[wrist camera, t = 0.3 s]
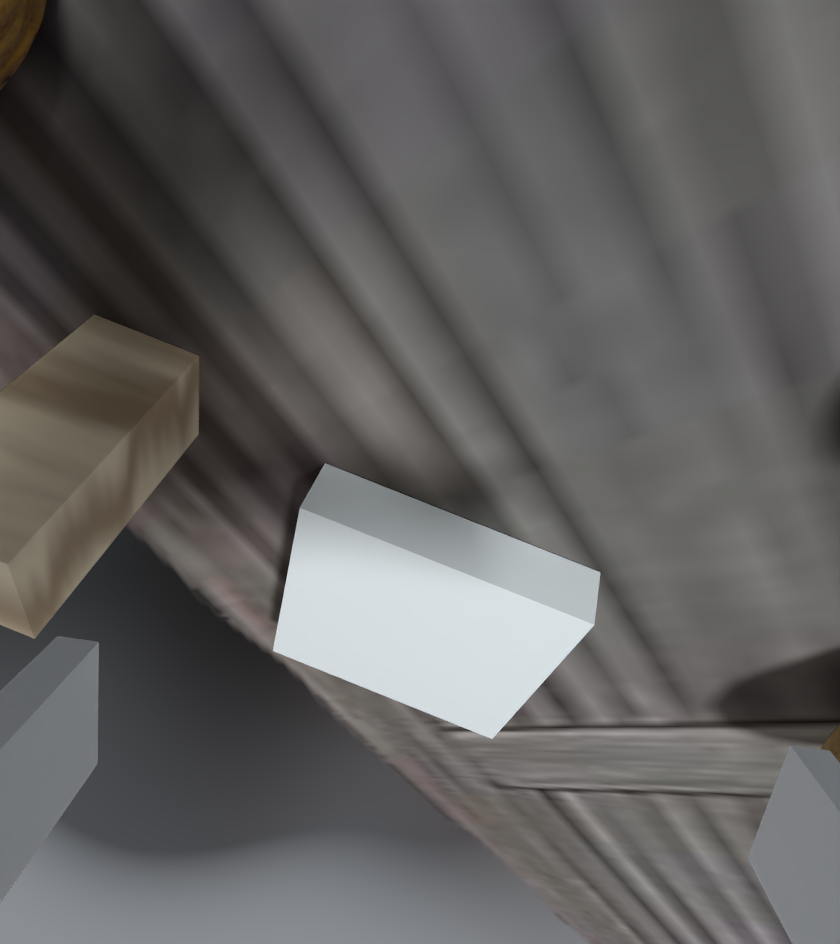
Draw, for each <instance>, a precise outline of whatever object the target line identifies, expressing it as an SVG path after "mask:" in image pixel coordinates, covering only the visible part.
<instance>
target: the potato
mask: <svg viewBox="0 0 840 944" xmlns="http://www.w3.org/2000/svg"><path fill="white" fill-rule="evenodd" d="M821 749H822V750H829V751H831V753H832V754H833V755H834V756H835V758H836V759H837V760H838V761H839V763H840V725H839V726H838V727H837V728H836V729H835V730H834V731H833V732H832V733H831V734H830V736H829V737H828V739H827V740H826V742H825V744H824V745H823V747H822V748H821Z"/></svg>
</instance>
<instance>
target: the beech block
mask: <svg viewBox="0 0 840 944" xmlns="http://www.w3.org/2000/svg"><path fill="white" fill-rule="evenodd" d="M198 435H199V355H196V354H193V353H191V352H188V351H186V350H183V349H181V348H178V347H176V346H173V345H171V344H168V343H166V342H163V341H160V340H158V339H155V338H153V337H150V336H148V335H145V334H143V333H140V332H138V331H135V330H133V329H130V328H128V327H125V326H122V325H120V324H117V323H115V322H112V321H110V320H107V319H105V318H102V317H100V316H97V315H95V314H94V315H93V316H92V317H91V318H89V319H88V320H87V321H86V322H84V323H83V324H82V325H81V326H80V327H78V328H77V329H76V330H75V331H74V332H72V333H71V334H70V335H69V336H67V337H66V338H65V339H64V340H63V341H61V342H60V343H59V344H58V345H57V346H55V347H54V348H53V349H52V350H50V351H49V352H48V353H47V354H46V355H44V356H43V357H42V358H41V359H40V360H38V361H37V362H36V363H35V364H33V365H32V366H31V367H30V368H29V369H27V370H26V371H25V372H24V373H23V374H21V375H20V376H19V377H18V378H16V379H15V380H14V381H13V382H12V383H10V384H9V385H8V386H7V387H6V388H4V389H3V390H2V391H1V392H0V625H2V626H5V627H7V628H10V629H12V630H15V631H17V632H20V633H22V634H25V635H27V636H29V637H32V638H34V639H35V637H36V636H37V635H38V634H39V633H40V631H41V630H42V629H43V628H44V626H45V625H46V624H47V623H48V621H49V620H50V619H51V618H52V616H53V615H54V614H55V613H56V611H57V610H58V609H59V608H60V606H61V605H62V604H63V603H64V601H65V600H66V599H67V598H68V596H69V595H70V594H71V593H72V591H73V590H74V589H75V588H76V587H77V585H78V584H79V583H80V581H81V580H82V579H83V578H84V577H85V575H86V574H87V573H88V572H89V570H90V569H91V568H92V567H93V565H94V564H95V563H96V562H97V560H98V559H99V558H100V557H101V555H102V554H103V553H104V552H105V550H106V549H107V548H108V547H109V545H110V544H111V543H112V542H113V540H114V539H115V538H116V537H117V535H118V534H119V533H120V532H121V530H122V529H123V528H124V527H125V525H126V524H127V523H128V522H129V520H130V519H131V518H132V517H133V516H134V514H135V513H136V512H137V511H138V509H139V508H140V507H141V506H142V504H143V503H144V502H145V501H146V499H147V498H148V497H149V496H150V494H151V493H152V492H153V491H154V489H155V488H156V487H157V486H158V484H159V483H160V482H161V481H162V479H163V478H164V477H165V476H166V474H167V473H168V472H169V471H170V469H171V468H172V467H173V466H174V464H175V463H176V462H177V461H178V459H179V458H180V457H181V456H182V454H183V453H184V452H185V451H186V449H187V448H188V447H189V446H190V444H191V443H192V442H193V441H194V439H195V438H196V437H197V436H198Z"/></svg>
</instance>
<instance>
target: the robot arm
mask: <svg viewBox="0 0 840 944" xmlns="http://www.w3.org/2000/svg"><path fill="white" fill-rule="evenodd" d="M98 657H99V642H94V641H86V640H80V639H73V638H66V637H60V636H58V637H56V638H55V639H54V640H53V641H52V642H51V643H50V644H49V645H48V646H47V647H46V648H45V649H44V650H43V651H42V652H41V653H40V654H39V655H38V656H37V657H35V658H34V659H33V661H31V662H30V663H29V664H28V665H27V666H26V667H25V668H24V669H23V670H22V671H21V672H20V673H19V674H18V675H17V676H16V677H15V678H14V679H12V680H11V682H9V683H8V684H7V685H6V686H5V687H4V688H3V689H2V690H1V691H0V903H1V902H2V900H3V899H4V897H5V896H6V894H7V893H8V892H9V890H10V889H11V887H12V886H13V884H14V883H15V881H16V880H17V879H18V877H19V876H20V874H21V873H22V871H23V870H24V868H25V867H26V866H27V864H28V863H29V861H30V860H31V858H32V857H33V856H34V854H35V853H36V851H37V850H38V848H39V847H40V845H41V844H42V843H43V841H44V840H45V838H46V837H47V835H48V834H49V832H50V831H51V829H52V828H53V827H54V825H55V824H56V822H57V821H58V819H59V818H60V817H61V815H62V814H63V812H64V811H65V809H66V808H67V807H68V805H69V803H70V802H71V801H72V799H73V798H74V796H75V795H76V794H77V792H78V791H79V789H80V788H81V786H82V785H83V784H84V782H85V781H86V779H87V778H88V776H89V775H90V773H91V772H92V771H93V769H94V768H95V766H96V765H97V752H98V751H97V750H98V747H97V746H98V662H99V661H98V659H99V658H98ZM748 860H749V862H750V864H751V866H752V868H753V869H754V871H755V873H756V875H757V877H758V879H759V881H760V883H761V885H762V887H763V889H764V891H765V892H766V894H767V896H768V898H769V900H770V902H771V904H772V906H773V908H774V910H775V912H776V914H777V915H778V917H779V919H780V921H781V923H782V925H783V927H784V929H785V931H786V933H787V935H788V937H789V938H790V940H791V942H792V944H840V763H839V761H838V760H837V759H836V758H835V756H834V755H833V754H832V753H831V751H829V750H822V749H816V748H809V747H802V746H795V745H790V746H789V749H788V752H787V754H786V757H785V760H784V762H783V765H782V768H781V770H780V773H779V776H778V778H777V781H776V784H775V786H774V789H773V792H772V794H771V797H770V800H769V802H768V805H767V808H766V810H765V813H764V816H763V818H762V821H761V824H760V826H759V829H758V832H757V834H756V837H755V840H754V842H753V845H752V848H751V850H750V853H749V856H748Z"/></svg>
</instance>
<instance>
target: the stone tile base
mask: <svg viewBox="0 0 840 944" xmlns="http://www.w3.org/2000/svg"><path fill="white" fill-rule="evenodd" d="M599 580H600V572H598V571H596V570H593V569H591V568H588V567H586V566H583V565H581V564H578V563H576V562H573V561H571V560H568V559H565V558H563V557H560V556H558V555H555V554H553V553H550V552H548V551H545V550H543V549H540V548H538V547H535V546H533V545H530V544H528V543H525V542H523V541H520V540H518V539H515V538H513V537H510V536H507V535H505V534H502V533H500V532H497V531H495V530H492V529H490V528H487V527H485V526H482V525H480V524H477V523H475V522H472V521H470V520H467V519H465V518H462V517H460V516H457V515H455V514H452V513H449V512H447V511H444V510H442V509H439V508H437V507H434V506H432V505H429V504H427V503H424V502H422V501H419V500H417V499H414V498H412V497H409V496H407V495H404V494H402V493H399V492H397V491H394V490H391V489H389V488H386V487H384V486H381V485H379V484H376V483H374V482H371V481H369V480H366V479H364V478H361V477H359V476H356V475H354V474H351V473H349V472H346V471H344V470H341V469H338V468H336V467H333V466H331V465H328V464H326V463H325V464H324V466H323V468H322V469H321V471H320V473H319V475H318V476H317V478H316V480H315V482H314V483H313V485H312V487H311V489H310V491H309V492H308V494H307V496H306V498H305V499H304V501H303V503H302V505H301V506H300V509H299V514H298V520H297V525H296V530H295V536H294V541H293V546H292V552H291V557H290V562H289V568H288V573H287V579H286V584H285V589H284V595H283V600H282V605H281V611H280V616H279V621H278V627H277V632H276V637H275V643H274V648H273V651H274V652H277V653H279V654H282V655H284V656H287V657H289V658H292V659H294V660H297V661H299V662H302V663H304V664H307V665H309V666H312V667H314V668H317V669H319V670H322V671H324V672H327V673H329V674H332V675H334V676H337V677H339V678H342V679H344V680H347V681H349V682H352V683H354V684H357V685H359V686H362V687H364V688H367V689H369V690H372V691H374V692H376V693H379V694H381V695H384V696H386V697H389V698H391V699H394V700H396V701H399V702H401V703H404V704H406V705H409V706H411V707H414V708H416V709H419V710H421V711H424V712H426V713H429V714H431V715H434V716H436V717H439V718H441V719H444V720H446V721H449V722H451V723H454V724H456V725H459V726H461V727H464V728H466V729H469V730H471V731H474V732H476V733H478V734H481V735H483V736H486V737H488V738H491V739H493V737H494V736H495V735H496V734H497V733H498V732H499V731H500V730H501V729H502V727H503V726H504V725H505V724H506V723H507V722H508V721H509V720H510V718H511V717H512V716H513V715H514V714H515V713H516V712H517V711H518V710H519V708H520V707H521V706H522V705H523V704H524V703H525V702H526V701H527V699H528V698H529V697H530V696H531V695H532V694H533V693H534V692H535V691H536V689H537V688H538V687H539V686H540V685H541V684H542V683H543V682H544V680H545V679H546V678H547V677H548V676H549V675H550V674H551V673H552V672H553V670H554V669H555V668H556V667H557V666H558V665H559V664H560V663H561V662H562V660H563V659H564V658H565V657H566V656H567V655H568V654H569V653H570V651H571V650H572V649H573V648H574V647H575V646H576V645H577V644H578V643H579V641H580V640H581V639H582V638H583V637H584V636H585V635H586V634H587V632H588V631H589V630H590V629H591V628H592V627H593V626H594V623H595V615H596V606H597V597H598V589H599Z"/></svg>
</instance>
